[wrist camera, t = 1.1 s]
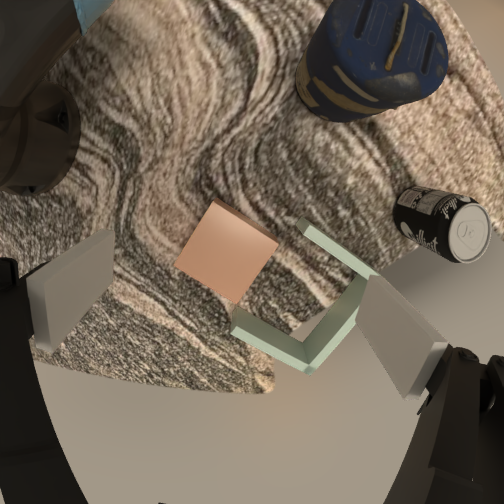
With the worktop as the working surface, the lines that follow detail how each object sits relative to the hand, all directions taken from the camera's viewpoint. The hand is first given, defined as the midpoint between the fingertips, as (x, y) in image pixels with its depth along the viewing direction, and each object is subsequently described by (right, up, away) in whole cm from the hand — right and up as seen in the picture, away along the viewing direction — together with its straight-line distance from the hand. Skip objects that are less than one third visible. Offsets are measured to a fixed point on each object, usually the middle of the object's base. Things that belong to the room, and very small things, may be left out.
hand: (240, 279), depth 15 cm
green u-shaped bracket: (+7, -3, +23) cm, 24 cm away
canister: (+10, +20, +16) cm, 28 cm away
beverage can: (+21, +6, +20) cm, 30 cm away
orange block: (-2, +2, +21) cm, 21 cm away
